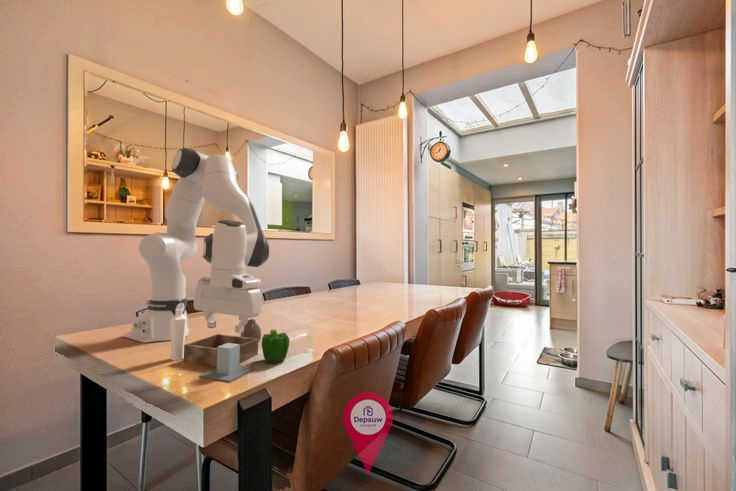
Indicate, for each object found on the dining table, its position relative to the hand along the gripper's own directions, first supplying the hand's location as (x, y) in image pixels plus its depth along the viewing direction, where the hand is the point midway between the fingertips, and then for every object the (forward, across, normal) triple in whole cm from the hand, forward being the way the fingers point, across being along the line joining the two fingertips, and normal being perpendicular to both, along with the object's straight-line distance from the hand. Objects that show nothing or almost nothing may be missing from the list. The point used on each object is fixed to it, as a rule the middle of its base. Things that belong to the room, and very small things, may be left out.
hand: (225, 329), depth 89 cm
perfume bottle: (+12, -21, +4) cm, 25 cm away
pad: (+12, +1, +1) cm, 12 cm away
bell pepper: (+12, +7, +14) cm, 20 cm away
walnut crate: (+12, -9, +10) cm, 18 cm away
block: (+11, +1, +1) cm, 11 cm away
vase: (+12, -10, +25) cm, 29 cm away
